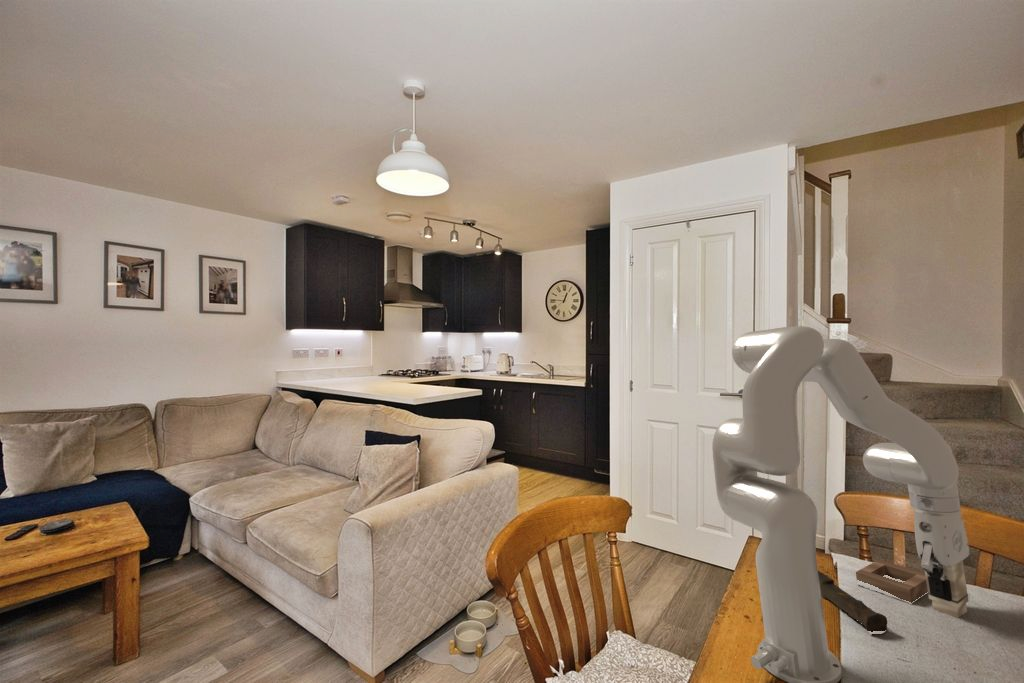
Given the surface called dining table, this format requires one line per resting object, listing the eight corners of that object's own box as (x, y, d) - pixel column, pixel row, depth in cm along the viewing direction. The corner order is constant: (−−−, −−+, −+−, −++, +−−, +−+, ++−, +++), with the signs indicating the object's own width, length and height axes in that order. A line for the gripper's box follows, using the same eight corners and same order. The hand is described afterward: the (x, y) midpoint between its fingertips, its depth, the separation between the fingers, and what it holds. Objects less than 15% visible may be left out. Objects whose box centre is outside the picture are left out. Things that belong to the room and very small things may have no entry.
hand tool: (891, 636, 85) (887, 610, 85) (869, 637, 85) (865, 612, 85) (825, 586, 104) (822, 566, 104) (807, 588, 104) (805, 567, 104)
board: (911, 604, 94) (909, 589, 94) (857, 585, 103) (855, 571, 103) (934, 589, 98) (932, 575, 98) (880, 572, 107) (879, 559, 107)
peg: (960, 619, 87) (950, 556, 88) (929, 609, 91) (921, 548, 92) (970, 611, 89) (961, 549, 90) (940, 601, 94) (932, 542, 94)
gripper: (938, 516, 84) (952, 616, 84) (977, 496, 92) (991, 588, 91) (890, 507, 91) (903, 599, 90) (930, 489, 99) (943, 574, 98)
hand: (947, 592), depth 91 cm, fingers closed on peg, 4 cm apart
